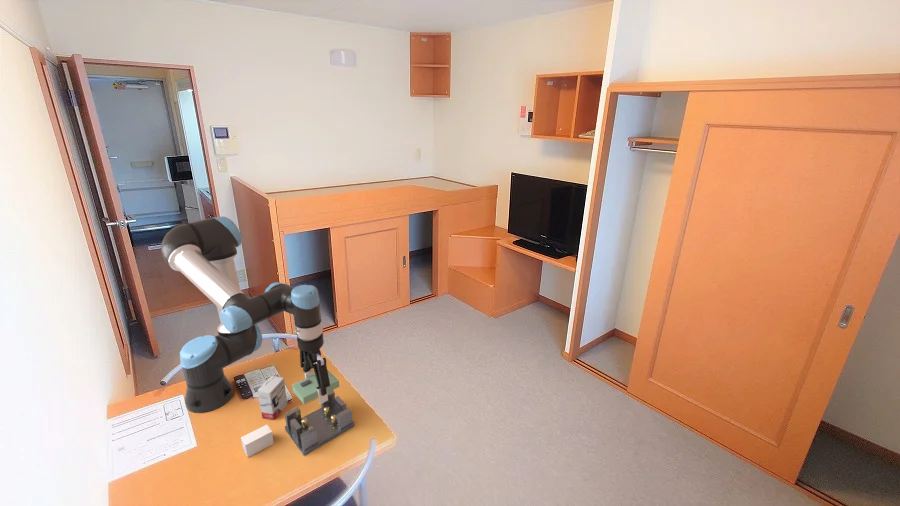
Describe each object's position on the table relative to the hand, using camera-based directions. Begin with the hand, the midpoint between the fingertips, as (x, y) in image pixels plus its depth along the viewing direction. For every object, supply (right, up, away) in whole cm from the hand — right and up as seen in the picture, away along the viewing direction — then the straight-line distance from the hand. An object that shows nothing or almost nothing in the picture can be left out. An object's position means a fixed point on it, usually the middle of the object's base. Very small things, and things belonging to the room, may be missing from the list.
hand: (317, 394), depth 130 cm
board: (0, +2, -1) cm, 2 cm away
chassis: (-1, -13, +5) cm, 14 cm away
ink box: (-19, -10, +12) cm, 25 cm away
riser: (-18, -16, -2) cm, 24 cm away
